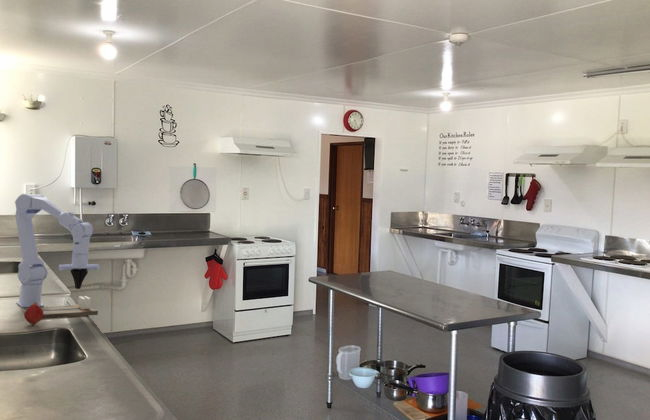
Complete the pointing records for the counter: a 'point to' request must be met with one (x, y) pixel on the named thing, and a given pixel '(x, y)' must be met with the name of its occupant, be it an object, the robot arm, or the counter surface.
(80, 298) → the fader knob
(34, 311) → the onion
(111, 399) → the counter surface
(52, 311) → the fader console
